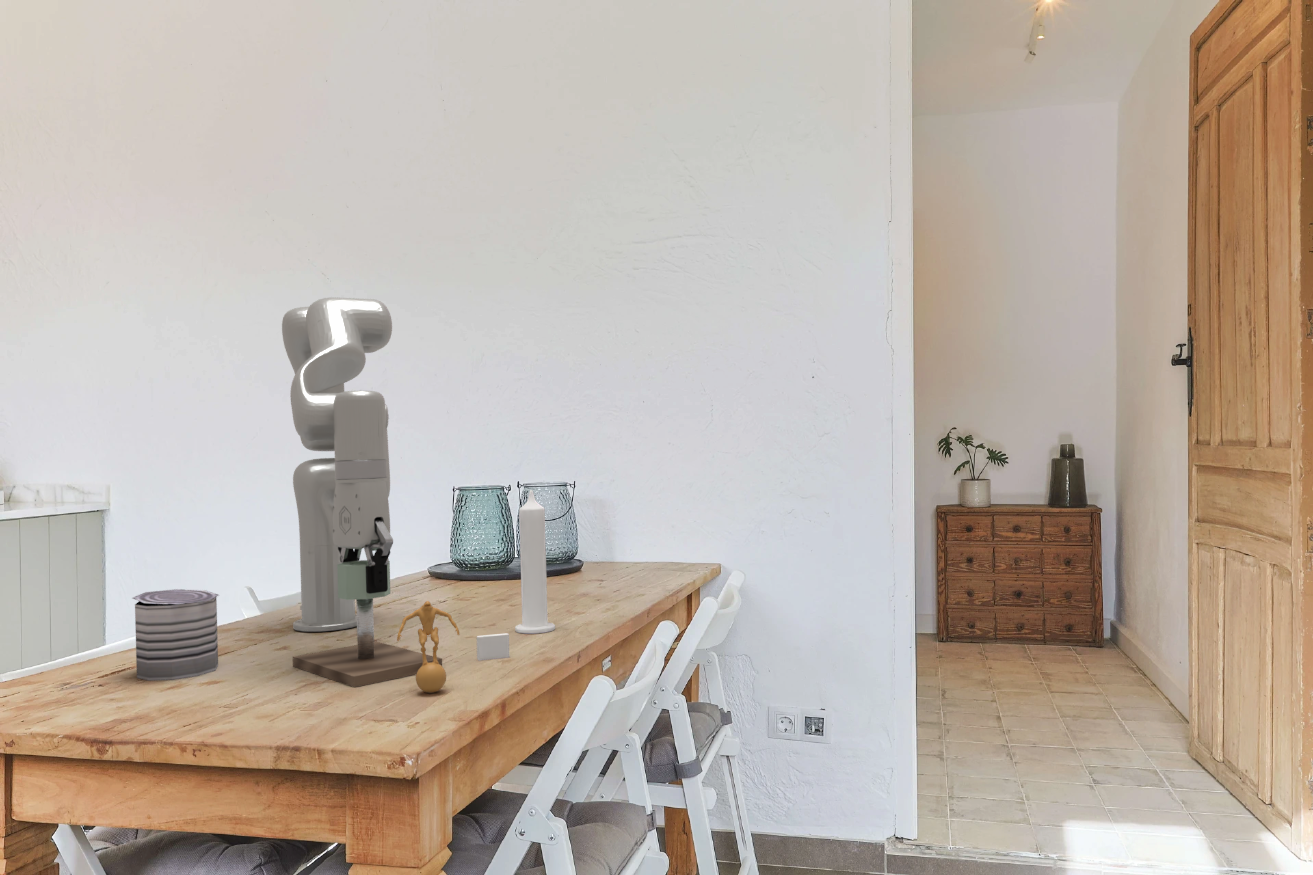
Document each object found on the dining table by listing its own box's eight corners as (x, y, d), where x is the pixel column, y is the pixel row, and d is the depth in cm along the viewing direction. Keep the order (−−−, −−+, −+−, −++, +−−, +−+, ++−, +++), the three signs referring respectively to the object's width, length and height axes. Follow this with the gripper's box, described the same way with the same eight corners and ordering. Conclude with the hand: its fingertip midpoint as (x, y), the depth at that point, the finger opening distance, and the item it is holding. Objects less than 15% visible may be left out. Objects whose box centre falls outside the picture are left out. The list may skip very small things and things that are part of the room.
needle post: (355, 657, 144) (353, 590, 144) (369, 654, 145) (367, 588, 145) (362, 659, 142) (360, 591, 142) (377, 657, 144) (375, 589, 144)
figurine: (401, 699, 124) (398, 607, 124) (396, 689, 130) (394, 601, 130) (465, 691, 127) (462, 602, 127) (457, 682, 133) (455, 596, 133)
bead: (332, 596, 144) (331, 563, 144) (374, 590, 149) (373, 558, 149) (353, 600, 139) (352, 566, 139) (397, 594, 144) (396, 561, 144)
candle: (558, 625, 173) (554, 488, 173) (550, 633, 166) (546, 490, 166) (520, 626, 173) (516, 489, 174) (510, 634, 166) (506, 491, 167)
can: (195, 660, 153) (193, 585, 153) (234, 668, 146) (232, 590, 146) (121, 675, 143) (119, 595, 143) (159, 684, 137) (157, 601, 137)
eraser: (476, 659, 148) (476, 635, 148) (508, 656, 149) (507, 632, 149) (478, 661, 146) (477, 637, 146) (509, 658, 148) (509, 634, 148)
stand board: (292, 666, 146) (292, 656, 146) (376, 650, 156) (376, 641, 156) (354, 687, 132) (353, 676, 132) (442, 668, 141) (442, 658, 141)
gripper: (312, 473, 147) (315, 588, 147) (365, 473, 135) (369, 598, 135) (357, 472, 153) (360, 582, 152) (413, 471, 140) (416, 591, 140)
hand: (364, 589), depth 144 cm, fingers closed on bead, 7 cm apart
